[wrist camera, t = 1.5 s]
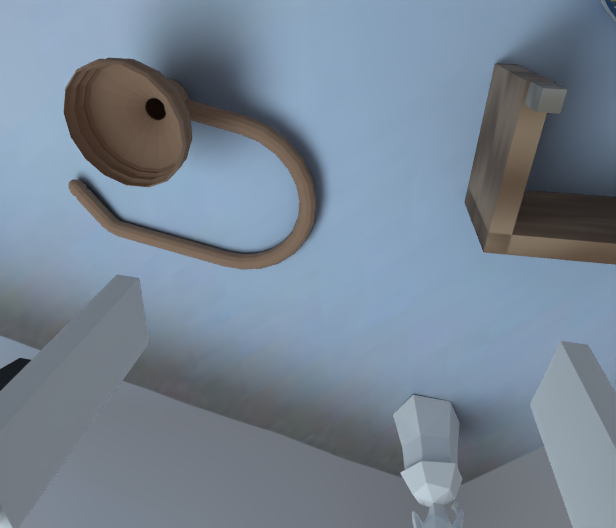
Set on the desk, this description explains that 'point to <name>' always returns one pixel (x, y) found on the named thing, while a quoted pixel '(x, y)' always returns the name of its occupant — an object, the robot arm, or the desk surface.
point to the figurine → (430, 457)
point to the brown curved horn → (164, 149)
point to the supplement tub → (610, 7)
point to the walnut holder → (514, 175)
